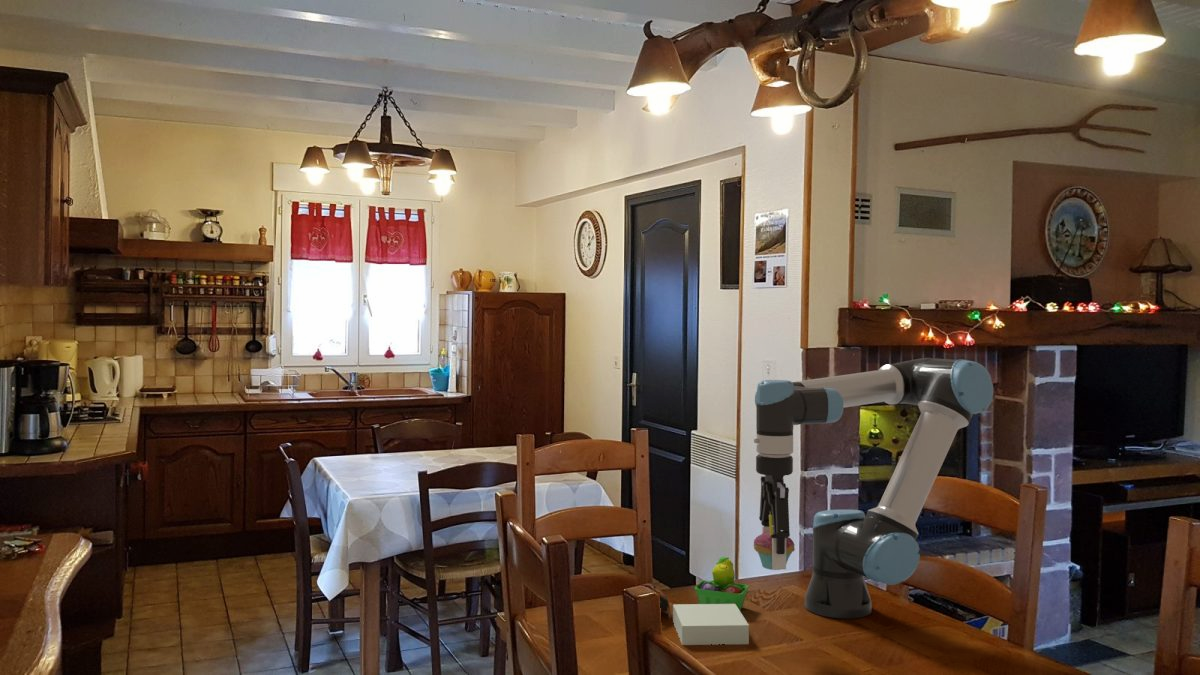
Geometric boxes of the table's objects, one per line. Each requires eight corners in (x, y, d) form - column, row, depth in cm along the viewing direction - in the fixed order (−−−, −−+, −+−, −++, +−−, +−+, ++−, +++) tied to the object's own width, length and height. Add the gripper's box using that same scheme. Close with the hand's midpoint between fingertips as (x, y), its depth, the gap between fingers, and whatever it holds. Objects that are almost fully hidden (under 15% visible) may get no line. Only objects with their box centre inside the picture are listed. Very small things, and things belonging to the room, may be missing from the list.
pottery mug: (675, 625, 202) (658, 596, 200) (637, 641, 204) (620, 612, 202) (673, 595, 213) (657, 567, 212) (637, 610, 215) (621, 583, 213)
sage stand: (735, 621, 203) (735, 603, 203) (748, 644, 189) (748, 625, 189) (672, 622, 202) (673, 604, 202) (682, 645, 188) (682, 626, 188)
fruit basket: (693, 609, 211) (693, 561, 211) (703, 599, 219) (704, 552, 219) (741, 616, 207) (741, 567, 207) (750, 605, 215) (750, 557, 215)
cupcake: (785, 574, 183) (785, 516, 183) (746, 568, 188) (746, 511, 188) (800, 564, 191) (800, 508, 190) (762, 558, 195) (762, 503, 195)
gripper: (745, 447, 199) (745, 550, 199) (768, 463, 178) (768, 577, 178) (779, 446, 199) (778, 549, 200) (806, 462, 178) (805, 577, 179)
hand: (773, 562), depth 189 cm, fingers closed on cupcake, 8 cm apart
